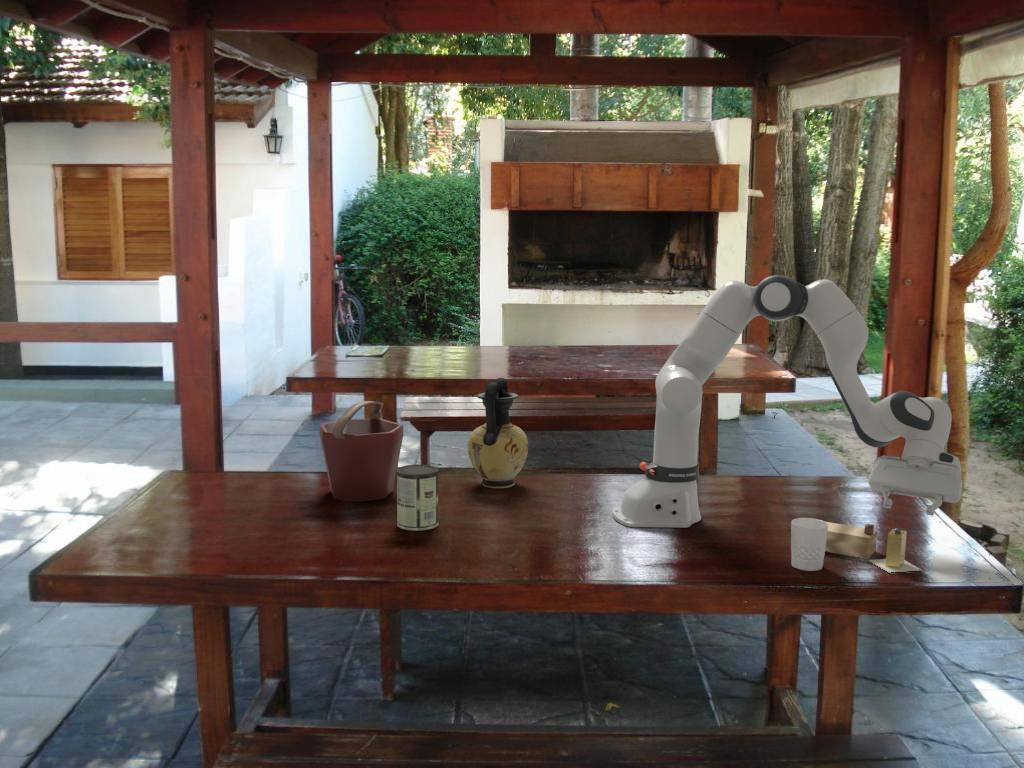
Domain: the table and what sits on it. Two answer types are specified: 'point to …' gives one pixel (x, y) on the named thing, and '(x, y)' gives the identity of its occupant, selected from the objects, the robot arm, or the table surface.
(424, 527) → the coffee can
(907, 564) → the mat
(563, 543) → the table surface
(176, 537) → the table surface
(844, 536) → the body
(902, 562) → the brass knob block
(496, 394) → the amphora
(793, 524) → the white cup
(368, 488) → the bucket
